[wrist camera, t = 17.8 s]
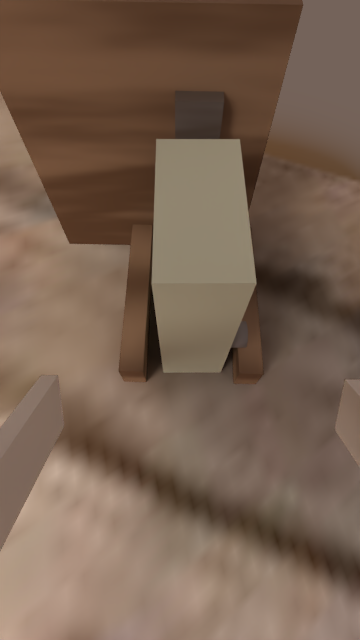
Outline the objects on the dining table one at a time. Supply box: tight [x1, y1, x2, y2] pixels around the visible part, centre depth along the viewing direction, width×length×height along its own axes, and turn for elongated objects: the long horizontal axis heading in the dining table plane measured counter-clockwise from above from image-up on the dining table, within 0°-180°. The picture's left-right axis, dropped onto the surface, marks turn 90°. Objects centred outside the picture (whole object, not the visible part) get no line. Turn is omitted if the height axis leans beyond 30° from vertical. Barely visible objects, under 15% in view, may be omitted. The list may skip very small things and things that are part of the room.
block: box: [152, 139, 256, 373], centre depth 20 cm, size 8×5×12 cm, turn 0°
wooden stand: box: [0, 0, 303, 384], centre depth 19 cm, size 14×14×16 cm
